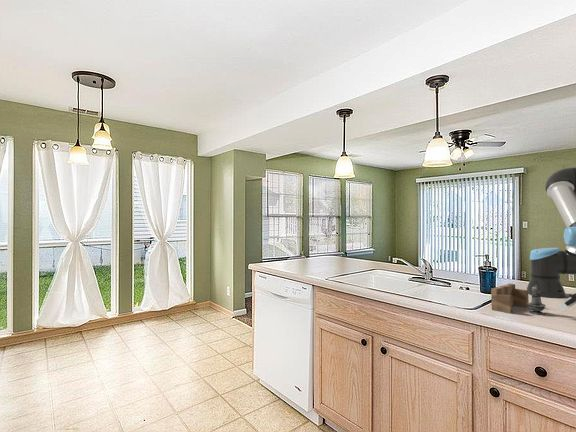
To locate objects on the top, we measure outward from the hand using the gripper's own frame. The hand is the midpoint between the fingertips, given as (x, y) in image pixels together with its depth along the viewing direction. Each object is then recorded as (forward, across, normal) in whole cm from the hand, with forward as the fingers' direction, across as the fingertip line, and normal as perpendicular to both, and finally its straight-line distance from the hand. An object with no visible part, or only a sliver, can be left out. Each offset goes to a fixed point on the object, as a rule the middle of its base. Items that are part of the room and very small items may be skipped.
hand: (559, 308), depth 125 cm
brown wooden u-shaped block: (+15, 0, +10) cm, 17 cm away
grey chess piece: (+8, 0, +3) cm, 8 cm away
